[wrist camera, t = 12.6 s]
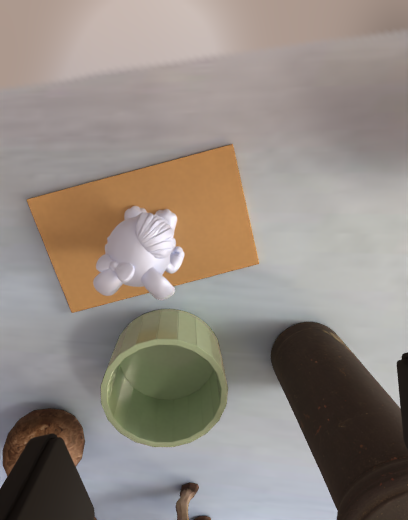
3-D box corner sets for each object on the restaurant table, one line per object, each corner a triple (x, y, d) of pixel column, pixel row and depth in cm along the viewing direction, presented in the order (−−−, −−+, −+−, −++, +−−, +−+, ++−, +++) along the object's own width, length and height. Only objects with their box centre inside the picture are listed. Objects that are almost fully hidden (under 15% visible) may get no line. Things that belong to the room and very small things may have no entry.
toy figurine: (188, 202, 32) (190, 222, 21) (182, 265, 34) (181, 317, 22) (115, 195, 32) (75, 211, 20) (113, 260, 33) (75, 309, 22)
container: (320, 397, 40) (447, 615, 20) (253, 371, 38) (322, 578, 19) (359, 337, 38) (539, 514, 18) (290, 306, 36) (409, 465, 17)
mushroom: (49, 499, 37) (28, 518, 32) (3, 445, 39) (-25, 454, 33) (104, 438, 40) (94, 445, 34) (59, 390, 41) (43, 389, 36)
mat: (232, 144, 31) (232, 143, 31) (258, 262, 35) (259, 263, 34) (28, 199, 32) (26, 199, 31) (73, 311, 35) (71, 313, 35)
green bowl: (205, 296, 35) (210, 324, 29) (230, 387, 39) (239, 430, 32) (100, 324, 36) (82, 358, 29) (133, 412, 39) (124, 459, 33)
